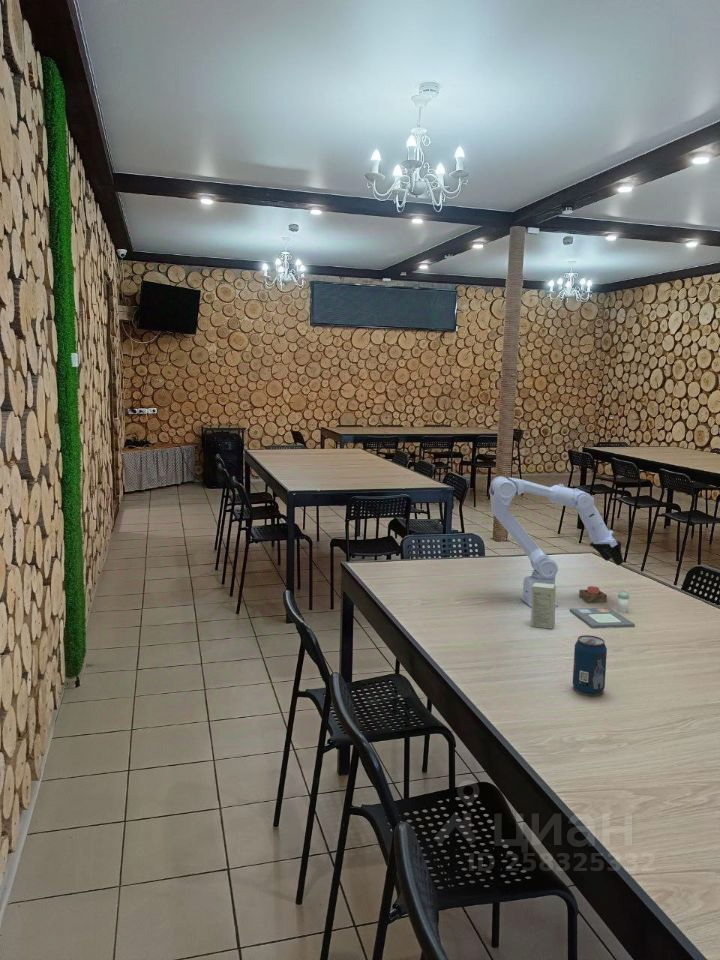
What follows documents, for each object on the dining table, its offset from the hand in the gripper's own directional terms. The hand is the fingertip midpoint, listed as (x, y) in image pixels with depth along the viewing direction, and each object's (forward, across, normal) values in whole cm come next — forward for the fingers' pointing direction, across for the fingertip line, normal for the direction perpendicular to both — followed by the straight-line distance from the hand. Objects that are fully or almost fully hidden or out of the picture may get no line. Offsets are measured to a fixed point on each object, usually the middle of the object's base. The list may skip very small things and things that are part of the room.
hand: (614, 561), depth 214 cm
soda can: (-2, -59, +40) cm, 71 cm away
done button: (+10, +6, +11) cm, 15 cm away
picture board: (+8, -12, +16) cm, 22 cm away
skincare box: (-2, -17, +34) cm, 38 cm away
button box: (+10, +6, +11) cm, 15 cm away
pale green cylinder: (+12, -6, +7) cm, 16 cm away
